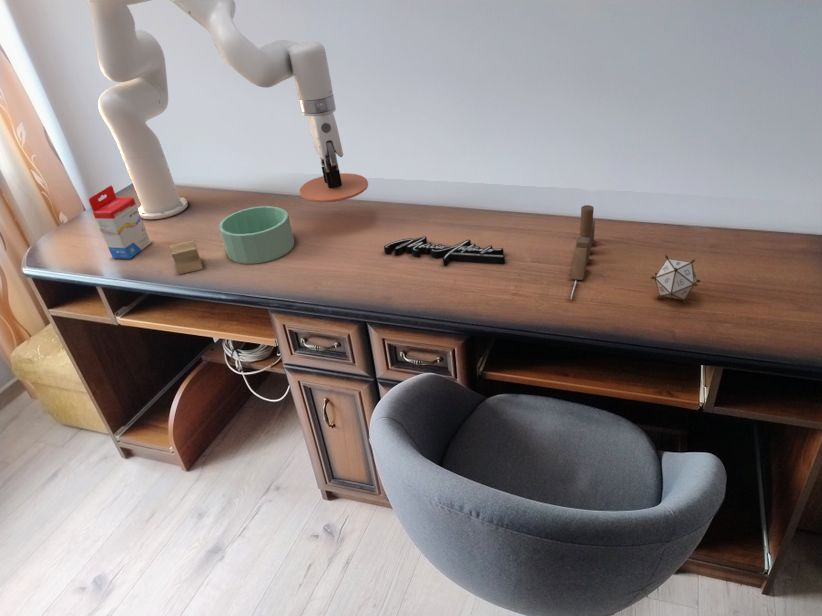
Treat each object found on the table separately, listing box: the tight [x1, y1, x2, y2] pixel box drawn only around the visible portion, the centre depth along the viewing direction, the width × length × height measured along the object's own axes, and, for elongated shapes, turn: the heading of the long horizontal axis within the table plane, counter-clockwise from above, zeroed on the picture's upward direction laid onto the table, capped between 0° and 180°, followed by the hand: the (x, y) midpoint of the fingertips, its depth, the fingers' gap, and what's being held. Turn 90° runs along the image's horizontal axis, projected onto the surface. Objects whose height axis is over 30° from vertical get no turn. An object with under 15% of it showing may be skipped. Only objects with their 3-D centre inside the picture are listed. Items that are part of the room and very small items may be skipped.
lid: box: [299, 162, 369, 203], centre depth 149 cm, size 16×16×7 cm
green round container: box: [218, 205, 295, 265], centre depth 145 cm, size 15×15×7 cm
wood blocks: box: [570, 204, 596, 300], centre depth 127 cm, size 25×3×10 cm, turn 164°
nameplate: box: [383, 236, 506, 267], centre depth 138 cm, size 27×2×10 cm
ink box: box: [88, 185, 152, 260], centre depth 146 cm, size 8×5×15 cm, turn 169°
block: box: [170, 239, 204, 275], centre depth 140 cm, size 5×5×5 cm
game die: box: [650, 254, 701, 305], centre depth 117 cm, size 9×8×10 cm
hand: (333, 183), depth 150 cm, fingers closed on lid, 2 cm apart
